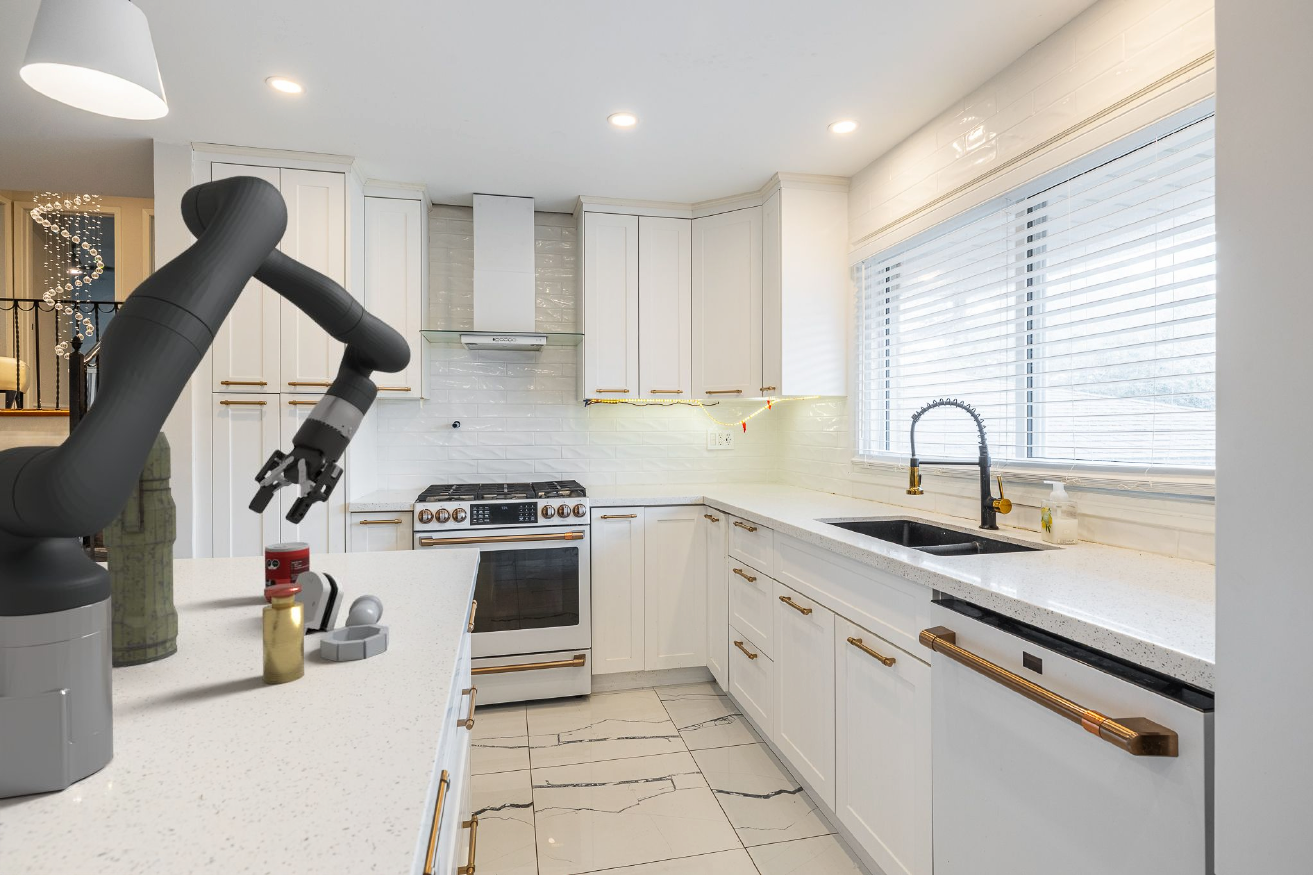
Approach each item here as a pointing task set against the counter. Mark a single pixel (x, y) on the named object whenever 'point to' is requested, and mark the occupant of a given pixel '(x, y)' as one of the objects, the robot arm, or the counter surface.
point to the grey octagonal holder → (357, 633)
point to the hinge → (319, 599)
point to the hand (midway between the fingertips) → (272, 516)
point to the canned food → (285, 563)
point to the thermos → (144, 566)
